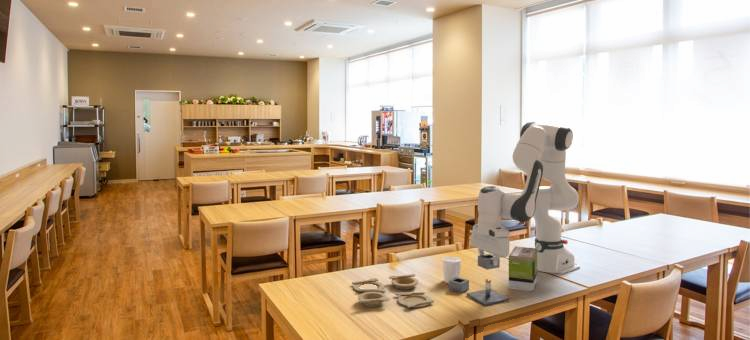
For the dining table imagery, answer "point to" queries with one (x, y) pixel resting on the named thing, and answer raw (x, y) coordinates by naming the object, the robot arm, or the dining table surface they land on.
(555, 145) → the robot arm
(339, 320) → the dining table surface
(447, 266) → the white cup
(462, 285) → the link
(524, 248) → the tea box
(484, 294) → the post
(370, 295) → the tableware set
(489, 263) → the link
